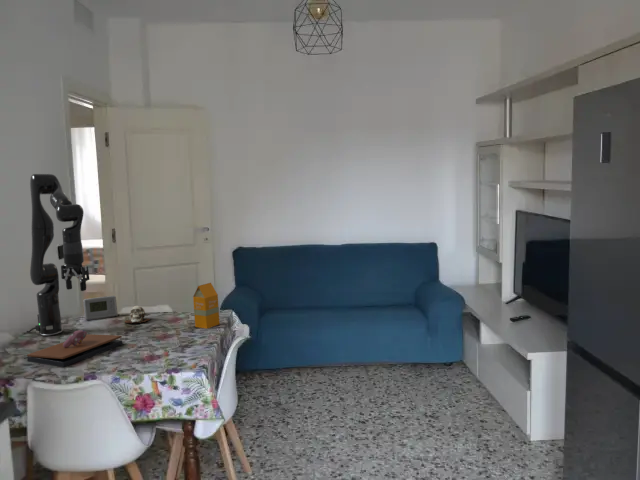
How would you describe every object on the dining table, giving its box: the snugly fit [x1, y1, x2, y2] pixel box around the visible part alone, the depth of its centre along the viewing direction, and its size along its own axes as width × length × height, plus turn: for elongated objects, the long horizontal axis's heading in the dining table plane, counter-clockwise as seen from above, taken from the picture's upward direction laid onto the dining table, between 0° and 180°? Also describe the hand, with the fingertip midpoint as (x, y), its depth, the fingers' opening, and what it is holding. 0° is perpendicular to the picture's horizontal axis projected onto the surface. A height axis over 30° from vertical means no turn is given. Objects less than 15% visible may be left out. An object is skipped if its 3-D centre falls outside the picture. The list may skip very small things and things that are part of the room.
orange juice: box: [192, 282, 221, 330], centre depth 269 cm, size 8×9×20 cm
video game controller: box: [62, 329, 88, 348], centre depth 236 cm, size 10×5×7 cm, turn 168°
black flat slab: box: [26, 339, 123, 368], centre depth 236 cm, size 21×30×2 cm
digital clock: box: [82, 295, 119, 321], centre depth 294 cm, size 16×9×11 cm, turn 103°
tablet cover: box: [26, 333, 123, 359], centre depth 236 cm, size 21×30×1 cm
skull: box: [124, 305, 151, 324], centre depth 283 cm, size 12×10×10 cm
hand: (76, 289), depth 240 cm, fingers open, 8 cm apart
